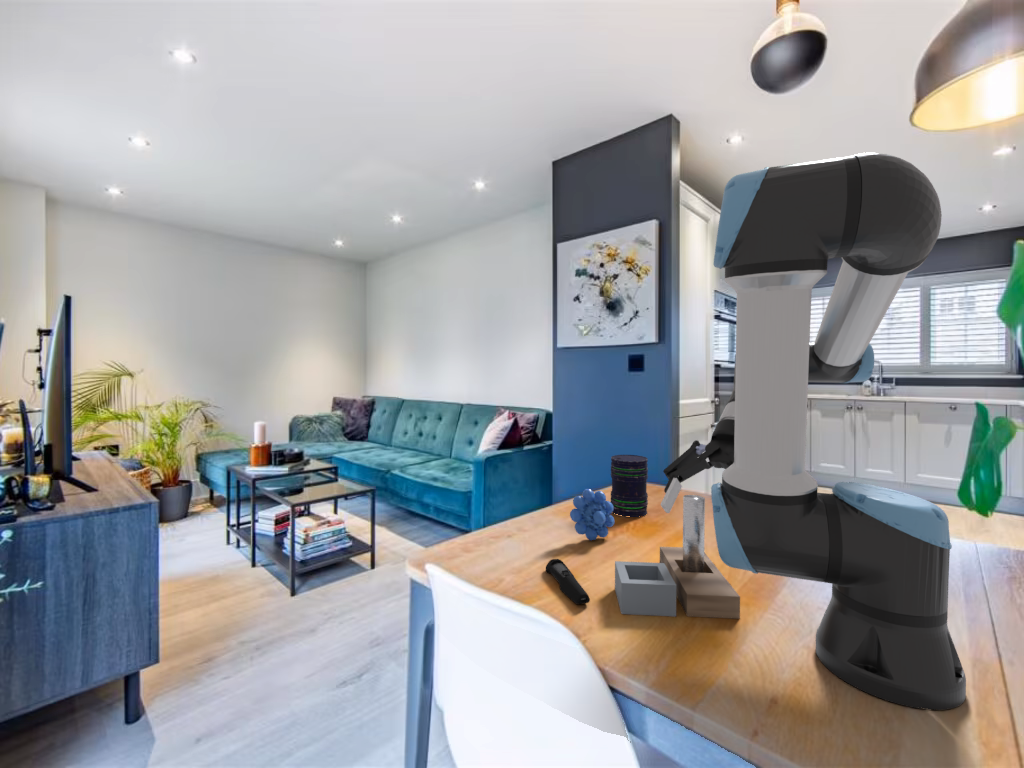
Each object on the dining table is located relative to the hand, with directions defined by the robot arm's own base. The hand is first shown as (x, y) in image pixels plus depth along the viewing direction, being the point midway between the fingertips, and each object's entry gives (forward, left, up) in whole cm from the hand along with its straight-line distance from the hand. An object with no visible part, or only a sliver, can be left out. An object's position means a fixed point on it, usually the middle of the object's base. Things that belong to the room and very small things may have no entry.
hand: (697, 517), depth 86 cm
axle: (-2, +1, -11) cm, 11 cm away
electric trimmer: (-4, +24, -12) cm, 27 cm away
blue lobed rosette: (+18, +17, -12) cm, 28 cm away
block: (-9, +11, -12) cm, 19 cm away
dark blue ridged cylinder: (+41, +6, -12) cm, 43 cm away
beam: (-3, +1, -12) cm, 12 cm away
